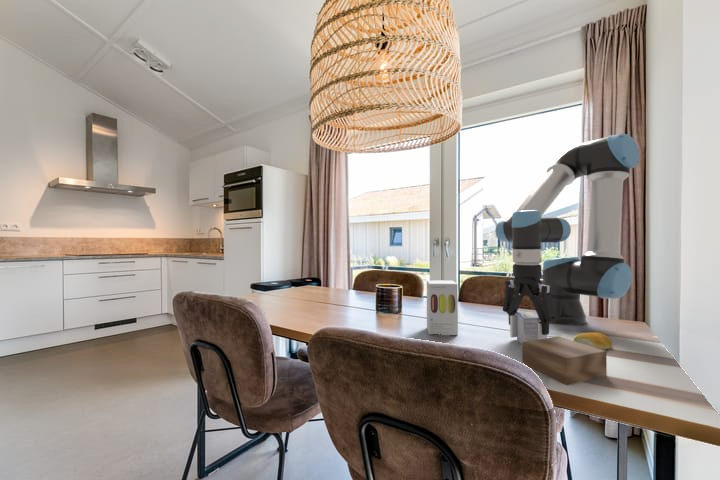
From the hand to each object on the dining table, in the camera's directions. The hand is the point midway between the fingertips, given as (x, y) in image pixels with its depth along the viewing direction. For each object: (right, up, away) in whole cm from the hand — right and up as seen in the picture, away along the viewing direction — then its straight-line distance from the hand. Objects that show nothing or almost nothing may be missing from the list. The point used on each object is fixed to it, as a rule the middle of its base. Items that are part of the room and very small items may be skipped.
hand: (528, 340), depth 98 cm
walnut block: (-1, -2, -19) cm, 19 cm away
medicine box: (0, -1, 0) cm, 1 cm away
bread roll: (+17, -1, -2) cm, 17 cm away
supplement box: (-22, -2, +15) cm, 26 cm away
